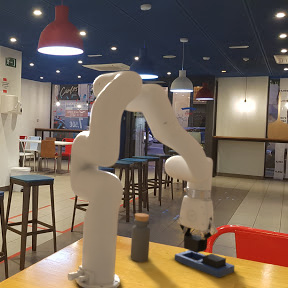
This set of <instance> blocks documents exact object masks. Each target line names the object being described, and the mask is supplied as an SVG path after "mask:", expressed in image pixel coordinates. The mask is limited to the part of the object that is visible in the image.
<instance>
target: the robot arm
mask: <svg viewBox="0 0 288 288" xmlns="http://www.w3.org/2000/svg"><path fill="white" fill-rule="evenodd" d="M92 92H93V95H94V97H95V98H96V99H95V100H94V102H93V104H92V106H91V110H90V114H89V115H90V116H89V127H88V130H84V131H82V132H80V133H79V134H77V135H76V137H75V138H74V140H73V142H72V145H71V149H70V179H69V180H70V188H71V190H72V192H73V194H74V195H75V196H76V197H78V198H80V199H82V200H84V201H87V202H88V205H87V207H86V210H85V212H84V217H83V226H82V227H83V228H82V248H81V249H82V250H81V265H79V266H78V269H77V270H76V271H75V272H74V271H73V272H70V273H67V279H68V281H70V282H71V281H74V280H75V282H76V284H77V285H79V286H80V287H81V288H119V286H120V284H121V279H120V277H119V275H118V274H116V261H117V260H116V259H117V258H116V255H117V241H118V224H119V212H120V207H121V203H122V199H123V195H124V187H123V183H122V181H121V180H120V178H119V177H118V176H117V175H115V174H114V173H111V172H109V171H106V170H102V169H99V168H100V167H102V168H103V167H104V168H109V167H113V166H114V165H115V164H116V163H117V162H118V160H119V157H120V156H119V155H120V146H121V123H122V116H123V113H124V111H128V112H133V113H134V112H135V113H142V114H143V117H144V119H145V121H146V123H147V125H148V127H149V129H150V131H151V134H152V136H153V137H154V139H155V140H157V141H158V142H160V143H161V144H163V145H165V146H166V147H168V148H170V149H171V150H173V151H174V152H176V153H177V154H178V155H172V156H171V157H169V158H167V160H166V161H165V163H164V172H165V173H166V174H167V175H168V176H169V177H170V178H173V179H176V180H181V181H185V182H187V183H186V187H184V188H183V191H184V193H185V194H186V195H184V196H183V199H182V201H181V206H180V211H179V218H177V220H176V222H177V224H178V225H179V226H180V229H181V230H182V234H183V240H184V239H185V236H189V235H193V233H192V230H196V231H198V232H199V233H200V236H201V239H200V242H199V251H201V252H204V251H207V248H208V239H210V238H211V237H213V236H214V235H216V234H218V232H219V230H218V229H217V227H216V225H215V223H214V205H213V199H211V197H212V196H211V195H212V182H213V169H214V160H213V159H212V157H209V156H207V155H206V153H205V150H204V149H203V147H202V146H201V144H200V142H198V140H197V139H196V138H194V136H193V135H191V134H190V133H189V132H188V131H187V130H186V129H185V128H184V127H183V126H182V125H181V124H180V121H179V120H178V117H177V114H176V113H175V110H174V108H173V105H172V104H171V101H170V98H169V97H168V94H167V91H166V90H165V89H164V87H163V86H162V85H160V84H157V83H143V79H142V76H141V75H140V74H139V73H138V72H136V71H133V70H121V71H115V72H107V73H103V74H101V75H98V76H97V77H96V78H95V80H94V81H93V83H92ZM209 230H210V231H209Z"/></svg>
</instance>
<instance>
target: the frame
mask: <svg viewBox="0 0 288 288" xmlns="http://www.w3.org/2000/svg"><path fill="white" fill-rule="evenodd" d="M206 255H207V254H203V253H201V252H198V253H196V252H193V251H190V250H188V249H187V250H185V251H182V252H178V253H174V261H176V262H178V263H180V264H183V265H186V266H188V267H191V268H193V269H195V270H198V271H201V272H203V273H206V274H208V275H211V276H213V277H216V278H217V279H218V278H222V277H224V276H227V275H229V274H233V273H234V272H235V265H234V264H231V263H229V262H226V265H225V266H224V267H221V268H218V269H216V268H214V267H211V266H209V265H206V264H203V256H206Z"/></svg>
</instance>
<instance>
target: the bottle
mask: <svg viewBox="0 0 288 288" xmlns="http://www.w3.org/2000/svg"><path fill="white" fill-rule="evenodd" d="M149 218H150V215H149V214H147V213H143V212H136V213H134V218H133V223H134V225H133V226H132V228H131V238H130V239H131V240H130V259H131V260H132V261H133V262H139V263H144V262H147V261H148V260H149V252H150V238H151V237H150V235H151V233H150V232H151V228H150V226H148V225H150V220H149Z"/></svg>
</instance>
